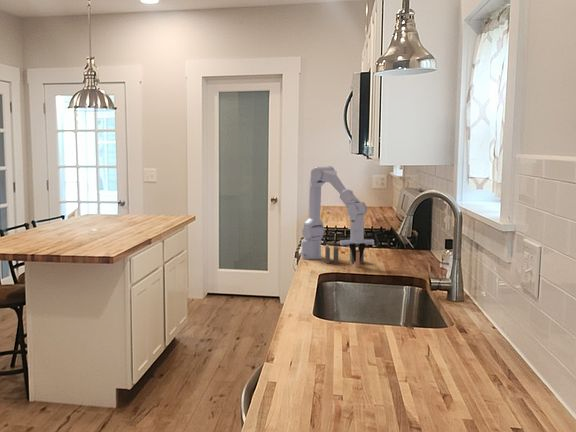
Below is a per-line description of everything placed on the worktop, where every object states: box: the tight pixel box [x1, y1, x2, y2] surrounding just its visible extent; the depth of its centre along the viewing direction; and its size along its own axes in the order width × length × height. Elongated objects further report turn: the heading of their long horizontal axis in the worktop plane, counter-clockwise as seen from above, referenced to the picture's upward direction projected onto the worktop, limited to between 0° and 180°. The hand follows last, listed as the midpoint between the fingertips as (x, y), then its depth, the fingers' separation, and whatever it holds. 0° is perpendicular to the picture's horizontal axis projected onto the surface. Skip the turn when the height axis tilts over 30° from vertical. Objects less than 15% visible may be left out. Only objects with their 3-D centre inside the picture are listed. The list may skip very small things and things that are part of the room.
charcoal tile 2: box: [349, 248, 354, 264], centre depth 225 cm, size 2×5×7 cm, turn 2°
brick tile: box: [353, 249, 361, 269], centre depth 216 cm, size 2×5×7 cm, turn 2°
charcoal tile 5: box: [324, 245, 331, 265], centre depth 225 cm, size 2×5×7 cm, turn 2°
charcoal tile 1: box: [360, 250, 365, 264], centre depth 225 cm, size 2×5×7 cm, turn 2°
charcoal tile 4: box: [333, 245, 339, 265], centre depth 225 cm, size 2×5×7 cm, turn 2°
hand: (356, 261), depth 216 cm, fingers closed on brick tile, 1 cm apart
